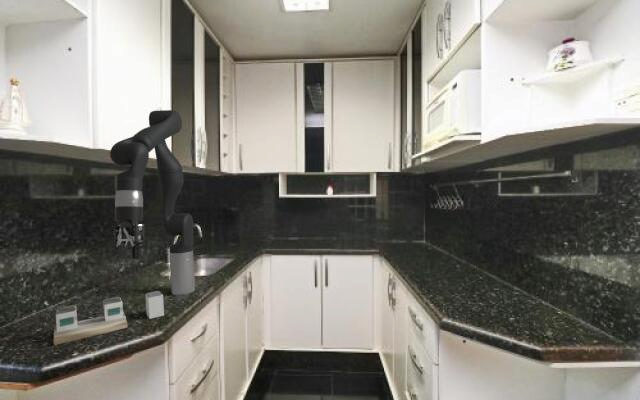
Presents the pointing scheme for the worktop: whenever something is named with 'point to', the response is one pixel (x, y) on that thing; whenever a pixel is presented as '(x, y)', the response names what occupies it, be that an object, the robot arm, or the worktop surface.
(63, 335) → the rail board
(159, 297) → the block
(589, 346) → the worktop surface
